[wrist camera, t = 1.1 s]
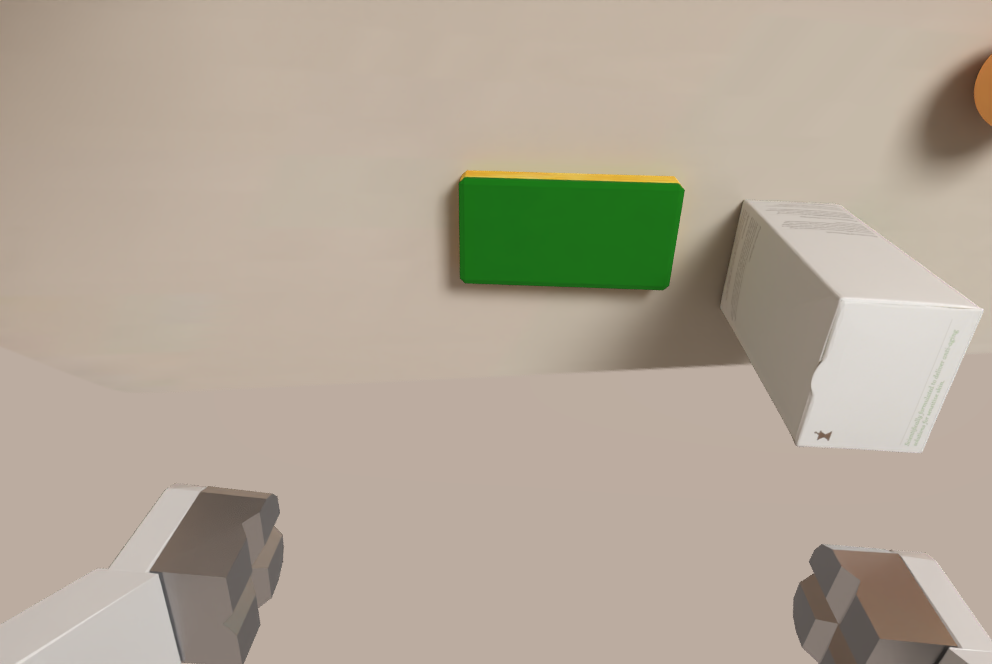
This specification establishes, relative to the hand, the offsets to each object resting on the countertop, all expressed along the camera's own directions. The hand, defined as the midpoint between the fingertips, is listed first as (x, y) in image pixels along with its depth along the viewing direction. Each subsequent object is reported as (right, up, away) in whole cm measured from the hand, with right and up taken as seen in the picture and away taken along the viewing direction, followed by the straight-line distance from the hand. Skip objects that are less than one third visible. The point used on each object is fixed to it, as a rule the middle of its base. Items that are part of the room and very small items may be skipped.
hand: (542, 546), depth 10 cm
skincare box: (+18, +8, +33) cm, 39 cm away
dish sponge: (+4, +11, +34) cm, 35 cm away
